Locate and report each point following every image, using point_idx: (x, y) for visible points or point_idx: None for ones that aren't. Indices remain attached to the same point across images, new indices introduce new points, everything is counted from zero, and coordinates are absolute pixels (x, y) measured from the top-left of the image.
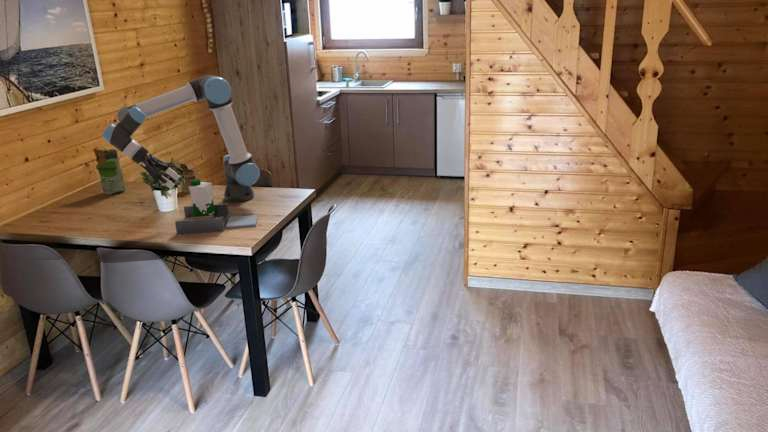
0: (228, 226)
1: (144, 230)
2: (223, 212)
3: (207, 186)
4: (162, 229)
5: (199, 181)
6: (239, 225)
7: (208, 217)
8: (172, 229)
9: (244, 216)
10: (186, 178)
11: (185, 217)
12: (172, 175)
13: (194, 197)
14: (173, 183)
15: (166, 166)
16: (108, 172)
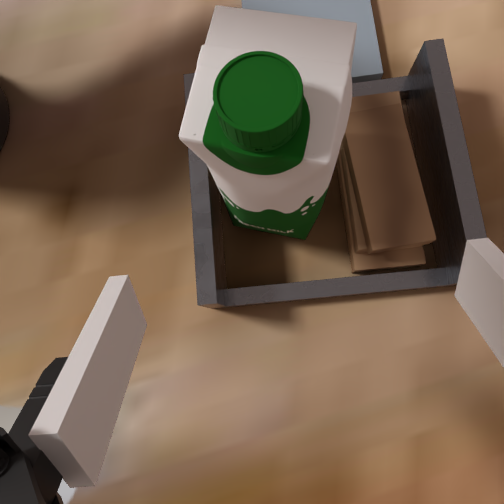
0: (381, 65)
1: (384, 491)
2: None
3: (300, 21)
4: (374, 388)
5: (269, 59)
6: (373, 22)
7: (374, 129)
8: (377, 332)
9: None
10: None
11: (245, 298)
12: (120, 368)
13: (336, 159)
14: (479, 249)
15: (35, 485)
16: None
